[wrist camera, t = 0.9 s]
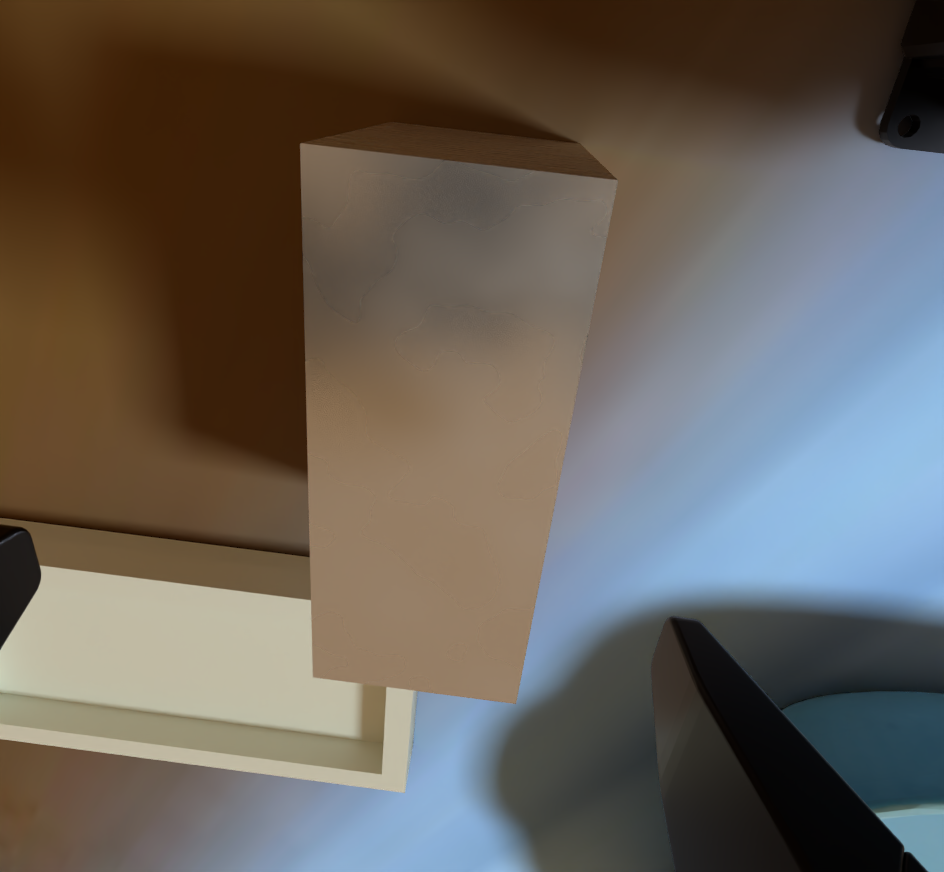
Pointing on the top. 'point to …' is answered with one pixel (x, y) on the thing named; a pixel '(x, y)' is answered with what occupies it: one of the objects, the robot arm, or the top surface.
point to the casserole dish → (886, 759)
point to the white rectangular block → (440, 392)
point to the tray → (190, 663)
